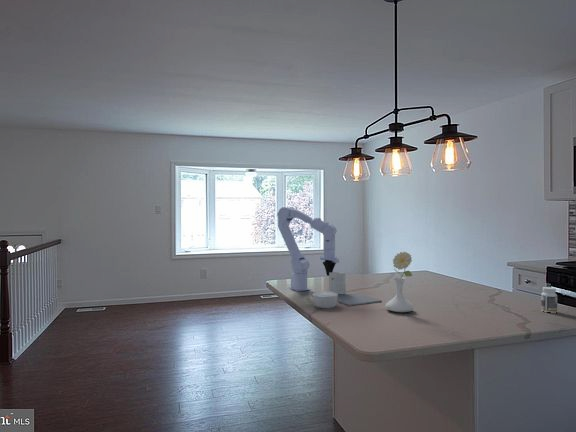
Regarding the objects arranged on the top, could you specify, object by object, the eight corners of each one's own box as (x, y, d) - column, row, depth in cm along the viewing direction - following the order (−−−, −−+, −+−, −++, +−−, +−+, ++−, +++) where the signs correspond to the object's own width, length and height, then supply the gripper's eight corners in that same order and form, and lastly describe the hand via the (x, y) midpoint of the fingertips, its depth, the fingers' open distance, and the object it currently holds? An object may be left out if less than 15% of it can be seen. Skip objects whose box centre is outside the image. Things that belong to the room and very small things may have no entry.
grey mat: (326, 297, 192) (326, 296, 192) (358, 294, 200) (358, 293, 200) (348, 305, 176) (348, 304, 176) (381, 301, 184) (381, 300, 184)
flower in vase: (379, 309, 171) (380, 249, 170) (401, 306, 175) (402, 249, 174) (399, 316, 159) (399, 253, 158) (422, 314, 163) (423, 252, 162)
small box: (345, 293, 201) (345, 272, 202) (345, 294, 195) (345, 272, 197) (329, 293, 202) (329, 272, 203) (329, 294, 196) (329, 272, 198)
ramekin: (315, 309, 170) (315, 297, 170) (309, 303, 181) (309, 291, 181) (341, 308, 172) (341, 296, 172) (334, 302, 183) (334, 290, 183)
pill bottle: (558, 311, 167) (559, 287, 167) (555, 314, 163) (555, 289, 163) (542, 309, 171) (543, 286, 171) (539, 311, 167) (539, 287, 167)
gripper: (344, 249, 200) (343, 277, 200) (328, 247, 213) (328, 272, 213) (332, 250, 197) (331, 278, 197) (316, 247, 210) (316, 273, 210)
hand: (329, 275), depth 205 cm, fingers closed
